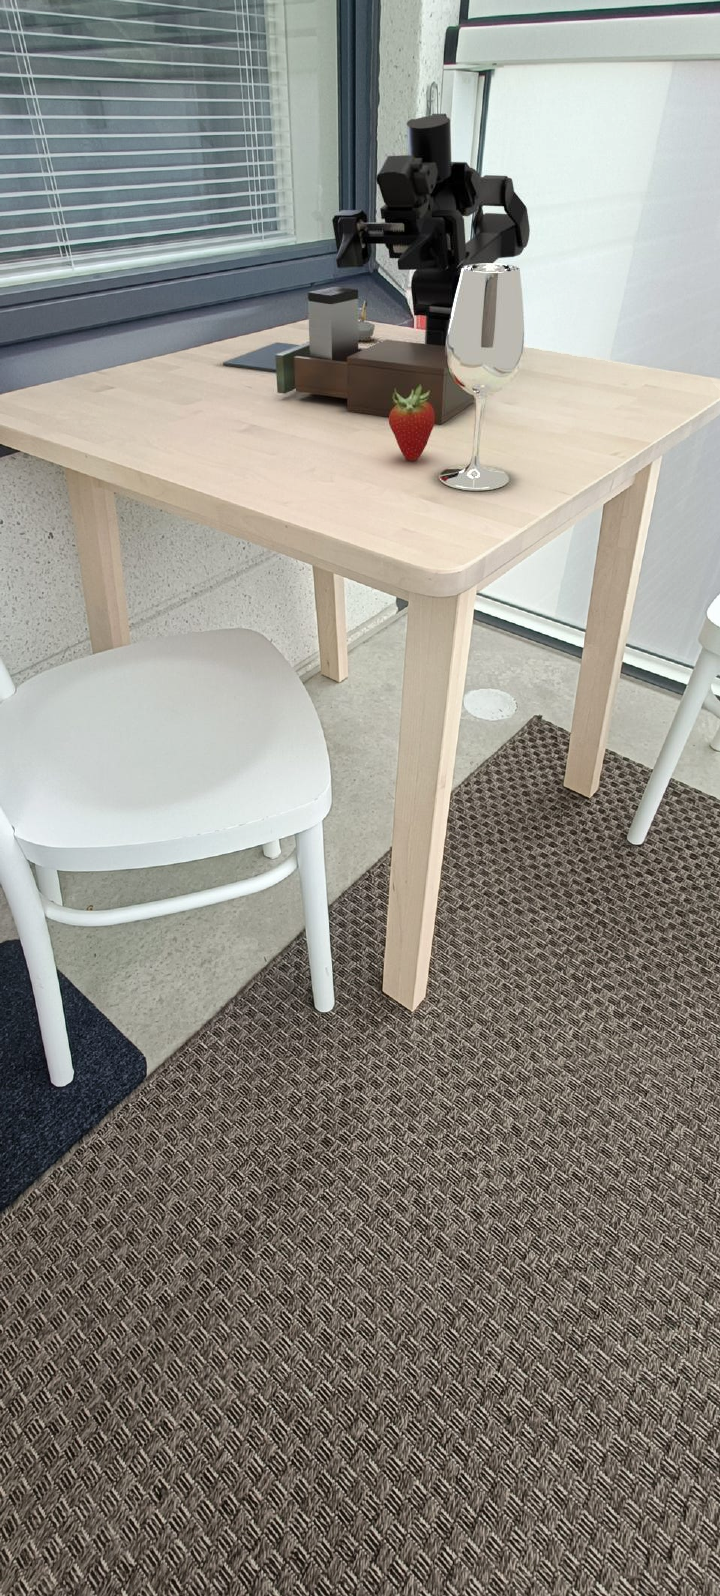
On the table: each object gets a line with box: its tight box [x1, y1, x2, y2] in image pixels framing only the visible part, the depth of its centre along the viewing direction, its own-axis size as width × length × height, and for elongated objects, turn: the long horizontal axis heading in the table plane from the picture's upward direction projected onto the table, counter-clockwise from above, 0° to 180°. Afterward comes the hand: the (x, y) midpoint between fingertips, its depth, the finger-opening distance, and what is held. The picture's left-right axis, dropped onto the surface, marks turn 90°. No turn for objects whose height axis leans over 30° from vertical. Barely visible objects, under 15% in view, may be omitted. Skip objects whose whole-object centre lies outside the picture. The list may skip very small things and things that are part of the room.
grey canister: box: [307, 286, 359, 362], centre depth 117 cm, size 6×4×11 cm
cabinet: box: [346, 339, 475, 425], centre depth 116 cm, size 14×12×7 cm
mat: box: [222, 342, 300, 373], centre depth 139 cm, size 16×14×1 cm
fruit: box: [388, 384, 435, 462], centre depth 98 cm, size 5×5×8 cm
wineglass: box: [438, 263, 525, 492], centre depth 89 cm, size 8×8×20 cm
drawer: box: [275, 341, 367, 399], centre depth 120 cm, size 14×10×5 cm
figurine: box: [358, 299, 376, 342], centre depth 148 cm, size 5×4×6 cm
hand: (367, 264), depth 113 cm, fingers open, 9 cm apart
